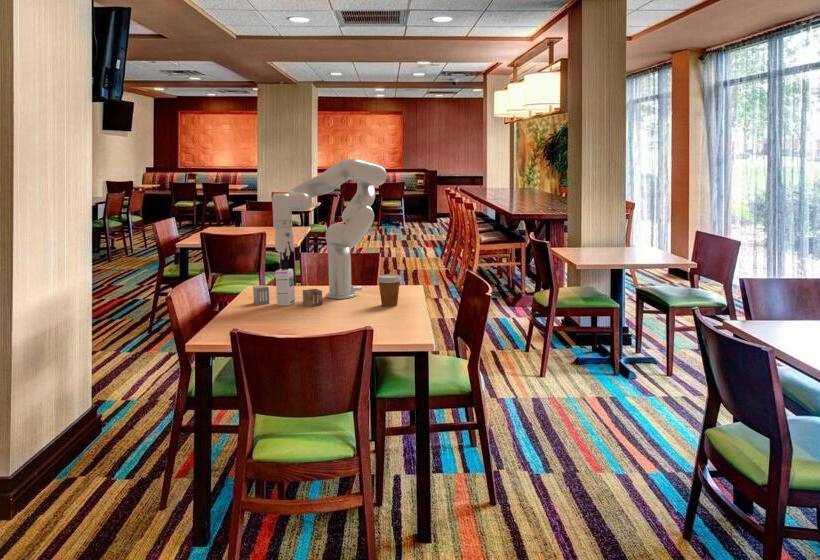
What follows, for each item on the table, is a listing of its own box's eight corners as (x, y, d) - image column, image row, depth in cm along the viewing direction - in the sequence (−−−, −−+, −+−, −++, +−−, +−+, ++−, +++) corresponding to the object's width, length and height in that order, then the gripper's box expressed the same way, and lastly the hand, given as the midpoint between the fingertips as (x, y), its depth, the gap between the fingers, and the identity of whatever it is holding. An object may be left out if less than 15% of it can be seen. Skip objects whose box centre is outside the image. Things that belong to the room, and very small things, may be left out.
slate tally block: (265, 301, 303) (264, 285, 302) (269, 304, 299) (268, 287, 297) (253, 303, 301) (253, 286, 300) (257, 305, 296) (257, 288, 295)
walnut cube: (316, 302, 300) (316, 288, 299) (322, 305, 295) (322, 291, 294) (303, 304, 297) (302, 290, 296) (309, 307, 292) (308, 292, 291)
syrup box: (290, 305, 294) (288, 270, 292) (276, 305, 296) (275, 270, 293) (295, 303, 300) (293, 268, 297) (281, 302, 301) (280, 268, 299)
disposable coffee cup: (398, 307, 288) (398, 278, 286) (375, 307, 290) (374, 277, 288) (403, 303, 297) (403, 274, 295) (380, 302, 299) (380, 273, 297)
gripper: (298, 225, 288) (300, 270, 291) (285, 222, 300) (286, 266, 304) (280, 226, 284) (282, 272, 287) (267, 223, 297) (269, 267, 300)
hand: (284, 268), depth 295 cm, fingers closed
